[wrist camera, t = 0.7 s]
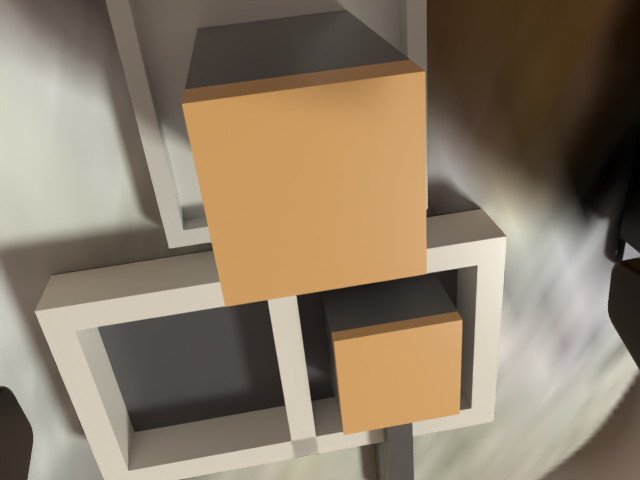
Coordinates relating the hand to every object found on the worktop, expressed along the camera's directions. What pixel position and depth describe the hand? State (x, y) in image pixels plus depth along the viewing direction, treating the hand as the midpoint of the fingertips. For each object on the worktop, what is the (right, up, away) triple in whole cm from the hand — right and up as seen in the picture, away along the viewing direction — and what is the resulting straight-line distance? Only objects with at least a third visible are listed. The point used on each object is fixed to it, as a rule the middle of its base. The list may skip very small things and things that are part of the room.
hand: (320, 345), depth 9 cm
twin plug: (+3, -5, +17) cm, 18 cm away
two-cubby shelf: (-1, -2, +15) cm, 16 cm away
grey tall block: (-1, +6, +10) cm, 12 cm away
